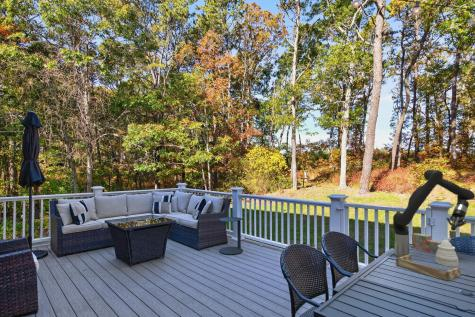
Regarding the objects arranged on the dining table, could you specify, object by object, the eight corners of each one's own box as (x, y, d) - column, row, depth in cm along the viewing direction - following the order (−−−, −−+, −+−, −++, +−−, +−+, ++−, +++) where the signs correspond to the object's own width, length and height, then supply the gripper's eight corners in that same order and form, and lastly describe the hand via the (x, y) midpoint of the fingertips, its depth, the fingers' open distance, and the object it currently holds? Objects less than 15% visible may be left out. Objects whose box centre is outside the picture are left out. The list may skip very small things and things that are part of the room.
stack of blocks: (443, 253, 216) (443, 238, 216) (438, 254, 213) (438, 239, 214) (416, 247, 235) (416, 232, 236) (412, 247, 233) (411, 233, 233)
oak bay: (409, 261, 198) (409, 254, 198) (460, 275, 171) (460, 267, 171) (396, 265, 190) (396, 258, 190) (447, 281, 163) (447, 272, 163)
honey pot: (450, 260, 200) (449, 236, 200) (463, 266, 187) (461, 240, 188) (431, 260, 201) (430, 235, 202) (443, 266, 188) (442, 240, 189)
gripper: (447, 207, 211) (440, 225, 205) (468, 209, 200) (461, 228, 193) (451, 213, 214) (444, 231, 207) (472, 216, 202) (465, 234, 196)
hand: (452, 229), depth 200 cm, fingers closed
